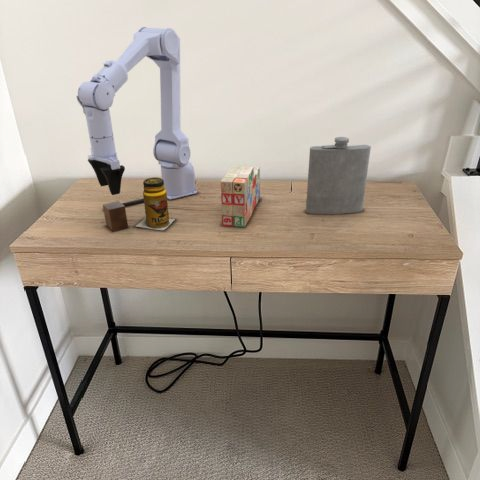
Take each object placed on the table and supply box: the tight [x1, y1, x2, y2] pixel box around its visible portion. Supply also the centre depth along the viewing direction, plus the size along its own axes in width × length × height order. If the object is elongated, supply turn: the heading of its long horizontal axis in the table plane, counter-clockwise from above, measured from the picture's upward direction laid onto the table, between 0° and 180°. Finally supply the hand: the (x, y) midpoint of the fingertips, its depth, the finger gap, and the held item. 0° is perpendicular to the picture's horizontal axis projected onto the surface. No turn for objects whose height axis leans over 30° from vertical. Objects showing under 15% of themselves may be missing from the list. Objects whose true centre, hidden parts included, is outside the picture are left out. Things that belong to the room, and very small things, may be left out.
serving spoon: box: [121, 197, 144, 207], centre depth 147 cm, size 16×5×1 cm, turn 124°
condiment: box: [134, 177, 176, 231], centre depth 133 cm, size 7×8×12 cm
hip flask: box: [305, 136, 372, 215], centre depth 136 cm, size 16×4×20 cm, turn 94°
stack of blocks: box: [220, 165, 261, 228], centre depth 139 cm, size 21×6×12 cm, turn 167°
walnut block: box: [102, 200, 129, 232], centre depth 133 cm, size 4×4×6 cm
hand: (110, 189), depth 131 cm, fingers open, 7 cm apart
